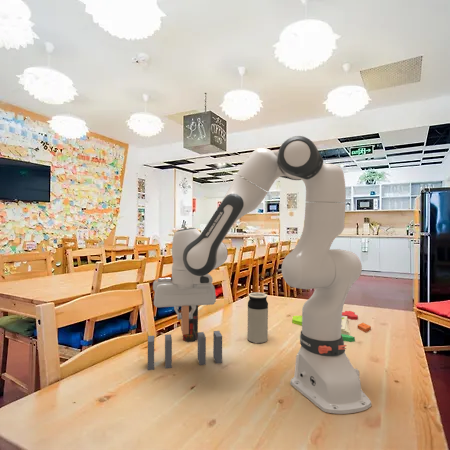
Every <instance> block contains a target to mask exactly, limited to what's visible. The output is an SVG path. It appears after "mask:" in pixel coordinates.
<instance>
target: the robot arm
mask: <svg viewBox="0 0 450 450" xmlns="http://www.w3.org/2000/svg"><path fill="white" fill-rule="evenodd" d="M278 178H283V179H287V180H291V181H303V183H304V185H305V207H304V209H305V210H304V221H303V228H302V232H301V235H300V238H299V240H298V242H297V243H296V245H295V247H293V249H292V251H290V252H289V253H288V254H287V255H285V257H284V259H283V260H282V262H281V276H282V279H283V280H284V282H285V283H286V284H287V285H288V286H289V287H290V288H295V289H301V290H310V289H311V290H312V289H313V290H314V291H313V293H312V295H311V296H310V297H309V298H308V299H307V300H306V301H305V302H304V304H303V306H302V310H301V316H302V326H301V331H300V335H299V340H300V341H299V344H300V349H299V350H298V352H297V353H296V356H295V357H296V358H295V363H294V364H295V367H294V374H293V375H294V376H293V377H291V379H290V381H289V384H290V386H292V387H293V388H294V389H296V390H297V391H298V392H299V393H301V394H302V395H303V396H304V397H305V398H307V399H308V400H309V401H310V402H312V403H313V404H314V405H315V406H316V407H318V408H319V409H320V410H321V411H323V412H325V413H329V414H335V415H336V414H337V415H343V414H345V415H346V414H353V413H359V412H363V411H366V410H367V409H370V408H371V406H372V400H370V398H369V397H368V396H367V394H366V393H365V392H364V391H363V390H362V385H361V383H362V382H361V379H360V371H359V369H358V368H354V366H353V364H352V362H351V361H350V359H349V357H348V356H347V354H346V350H347V348H346V347H347V345H346V344H345V341H343V337H342V335H341V323H342V312H343V308H344V305H345V301H346V298H347V296H348V293H349V292H350V291H351V290H350V289H351V288H352V286H353V285H354V284H355V282H356V281H358V280H359V279H360V277H361V275H362V271H363V268H362V267H363V266H362V261H361V260H360V258H359V256H358V255H357V254H356V253H355V252H353V251H349V250H344V249H340V248H337V249H336V248H335V249H334V248H333V249H331V246H332V244H333V242H334V240H335V239H336V238H337V237H338V236H340V235H341V234H342V233H343V231H344V229H345V222H346V221H345V219H346V202H347V201H346V200H347V199H346V197H347V194H346V191H347V189H346V180H345V173H344V170H343V169H342V168H341V167H340V166H338V165H337V164H333V163H328V162H327V163H325V162H324V159H323V157H322V155H321V154H320V152H319V150H318V148H317V146H316V144H315V143H314V142H313V141H312V140H311V139H309V138H308V137H306V136H303V135H302V136H301V135H295V136H292V137H288V139H286V140H284V141H283V143H282V144H281V145H280V147H279V150H278V151H273V150H271V149H269V148H267V147H266V148H265V147H258V148H255V149H254V150H253V151H252V152H251V153H250V154H249V155H248V157H247V158H246V159H245V161H244V162H243V164H242V165H241V166H240V168H239V169H238V171H237V174H236V175H235V176H234V178H233V180H232V182H231V184H230V186H229V187H228V189H227V191H226V194H225V195H224V197H223V199H222V200H221V203H220V204H219V205H218V207H217V209H216V210H215V212H214V213H213V215H212V217H211V218H210V220H209V221H208V222H207V223H206V225H205V227H204V228H203V230H202V232H201V231H199V229H197V228H195V227H189V228H182V229H178V230H176V231H175V232H174V233H173V236H172V246H171V257H172V266H171V277H158V278H157V279H155V280H153V283H152V290H153V291H154V297H153V305H154V307H156V308H169V307H170V308H173V309H174V311H175V313H176V315H177V316H176V317H177V320H181V319H182V313H181V312H180V311H179V308H180V307H181V306H191V307H192V310H191V311H190V312H189V319H193V313H194V311H195V310H196V305H198V306H208V305H209V306H210V305H211V306H212V305H215V303H216V302H217V295H216V288H215V285H214V284H213V277H212V276H211V274H210V273H211V272H212V271H213V270H216V269H218V268H219V267H220V266H222V265H223V264H225V263H226V261H227V258H228V253H229V252H228V248H227V245H226V244H225V243H224V242H223V241H224V240H225V238H226V236H227V235H228V234H229V232H230V230H231V229H232V228H233V226H234V225H235V223H236V222H237V221H238V220H240V219H241V218H242V217H244V216H245V215H247V214H250V213H252V212H253V211H255V210H256V209H257V208H258V207H259V206H260V204H261V203H262V202H263V200H264V199H265V198H266V196H267V194H268V192H269V191H270V189H271V187H272V186H273V185H274V183H275V181H277V179H278Z"/></svg>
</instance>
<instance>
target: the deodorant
mask: <svg viewBox="0 0 450 450" xmlns="http://www.w3.org/2000/svg"><path fill="white" fill-rule="evenodd" d="M191 310H192V307H191V306H189V312H190V311H191ZM198 332H199V305H196V310H195V311H194V313H193V319H189V334H182V341H183V342H186V343H193V342H194V343H195V342H196V341H197V342H198Z"/></svg>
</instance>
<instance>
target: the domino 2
mask: <svg viewBox="0 0 450 450" xmlns="http://www.w3.org/2000/svg"><path fill="white" fill-rule="evenodd" d="M172 362H173V339H172V333H171V334H165V335H164V368H165V369H172V367H173V366H172V365H173V363H172Z"/></svg>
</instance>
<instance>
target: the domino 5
mask: <svg viewBox="0 0 450 450" xmlns="http://www.w3.org/2000/svg"><path fill="white" fill-rule="evenodd" d="M212 348H213V349H212V350H213V352H212V353H213V355H212V356H213V359H214V362H215V364H222V363H223V335H222V333H221V332H220V330H213V347H212Z"/></svg>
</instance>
